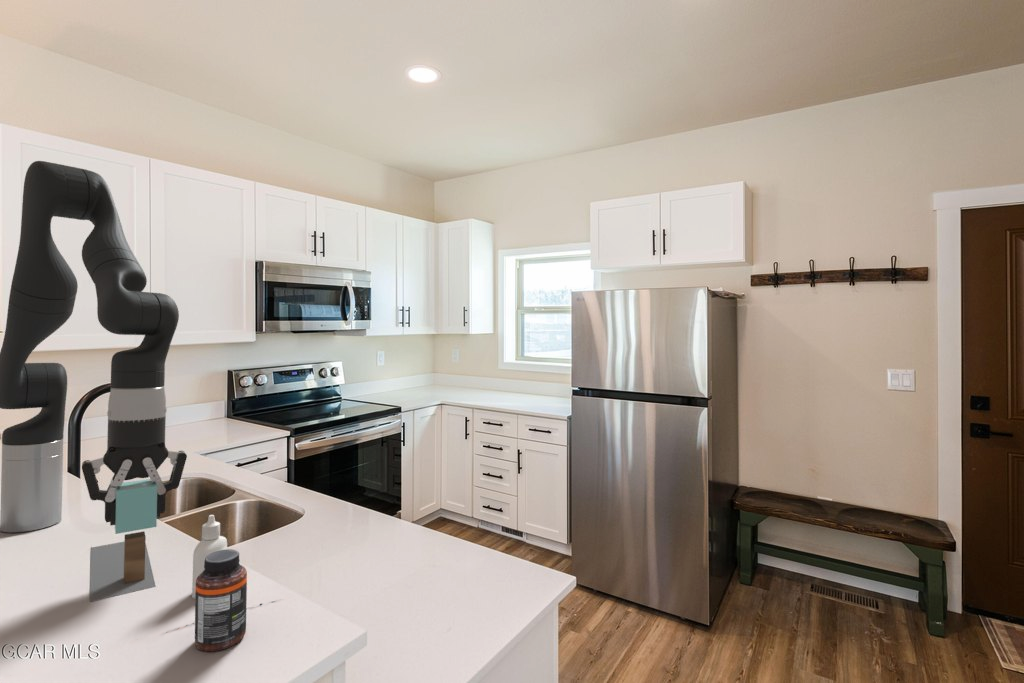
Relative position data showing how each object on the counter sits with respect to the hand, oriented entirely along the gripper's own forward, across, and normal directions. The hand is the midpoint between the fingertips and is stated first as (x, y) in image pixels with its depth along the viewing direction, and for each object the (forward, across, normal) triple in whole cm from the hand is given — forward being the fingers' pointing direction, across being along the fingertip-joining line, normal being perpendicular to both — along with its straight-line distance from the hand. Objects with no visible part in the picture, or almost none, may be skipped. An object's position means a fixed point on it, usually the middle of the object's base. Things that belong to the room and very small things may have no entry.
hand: (135, 519), depth 82 cm
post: (+10, 0, 0) cm, 10 cm away
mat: (+10, +2, -7) cm, 12 cm away
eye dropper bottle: (+10, -9, +11) cm, 17 cm away
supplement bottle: (+10, -8, +26) cm, 29 cm away
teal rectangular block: (+1, 0, 0) cm, 1 cm away
